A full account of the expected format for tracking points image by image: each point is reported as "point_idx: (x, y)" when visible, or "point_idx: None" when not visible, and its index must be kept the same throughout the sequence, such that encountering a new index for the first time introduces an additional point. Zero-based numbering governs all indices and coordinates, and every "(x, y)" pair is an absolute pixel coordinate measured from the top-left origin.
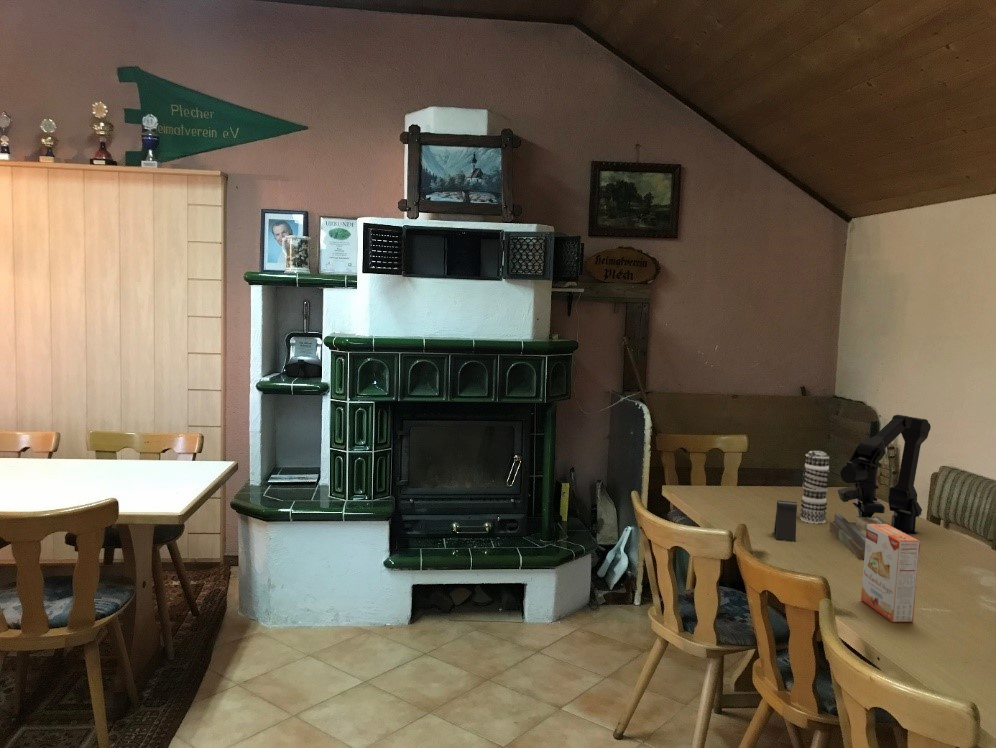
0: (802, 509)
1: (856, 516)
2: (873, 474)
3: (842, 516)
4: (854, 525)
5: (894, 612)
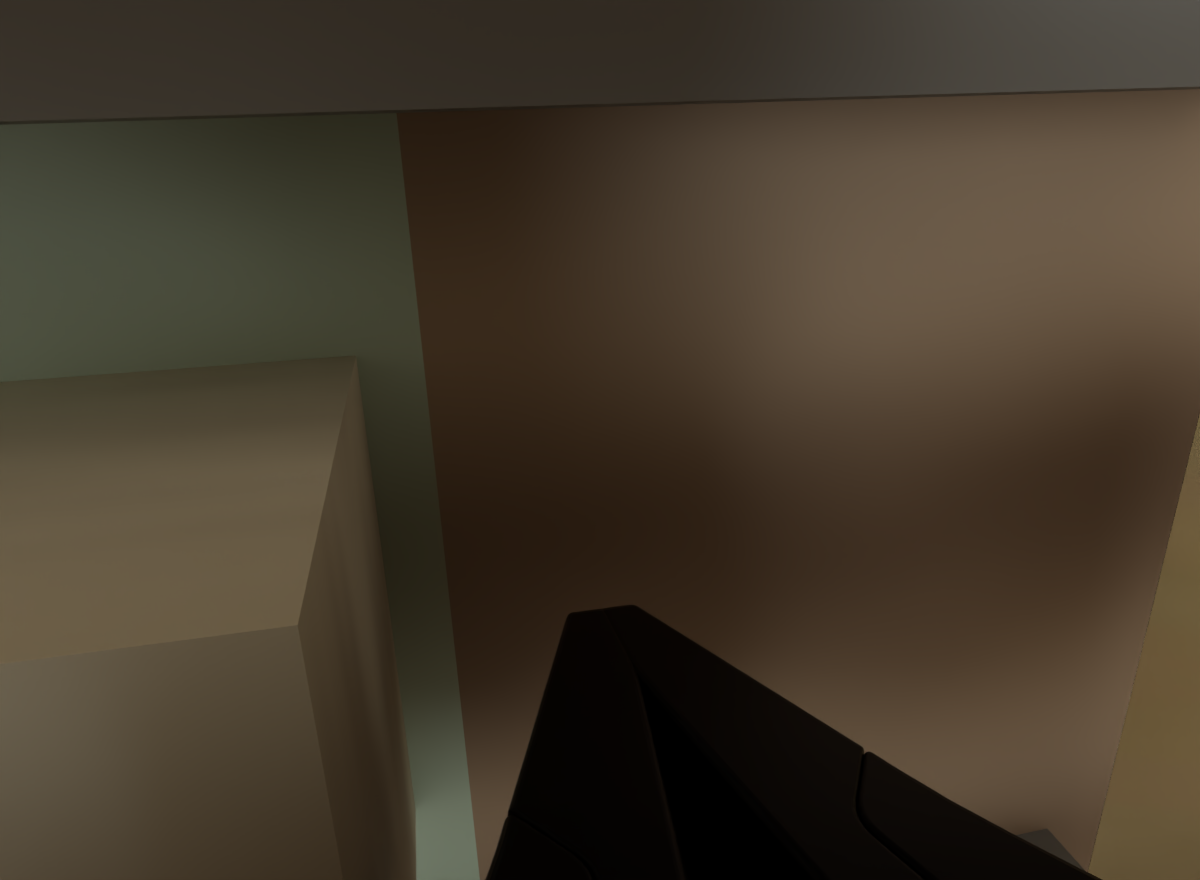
0: None
1: (255, 627)
2: None
3: (1153, 77)
4: (937, 461)
5: None
